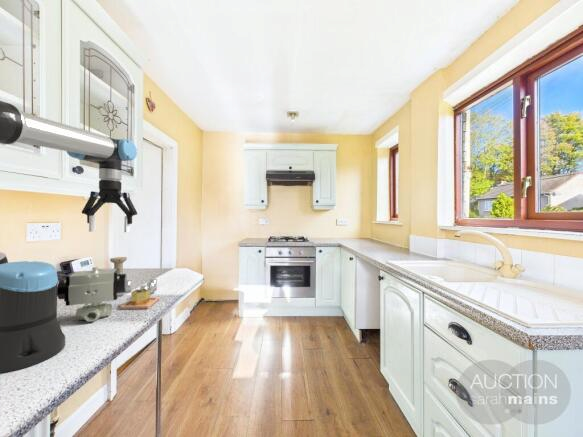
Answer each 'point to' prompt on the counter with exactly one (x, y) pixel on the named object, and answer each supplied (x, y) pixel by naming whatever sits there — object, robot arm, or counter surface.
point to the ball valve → (92, 291)
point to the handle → (118, 263)
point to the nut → (140, 297)
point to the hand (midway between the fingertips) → (109, 231)
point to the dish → (147, 306)
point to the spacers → (150, 285)
